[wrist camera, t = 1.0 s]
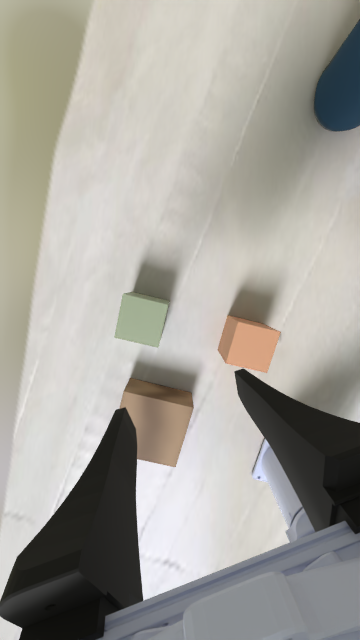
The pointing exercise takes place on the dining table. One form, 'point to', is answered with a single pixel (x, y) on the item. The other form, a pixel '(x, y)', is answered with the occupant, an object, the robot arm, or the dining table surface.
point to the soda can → (340, 87)
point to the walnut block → (158, 419)
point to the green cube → (141, 319)
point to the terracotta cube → (248, 343)
